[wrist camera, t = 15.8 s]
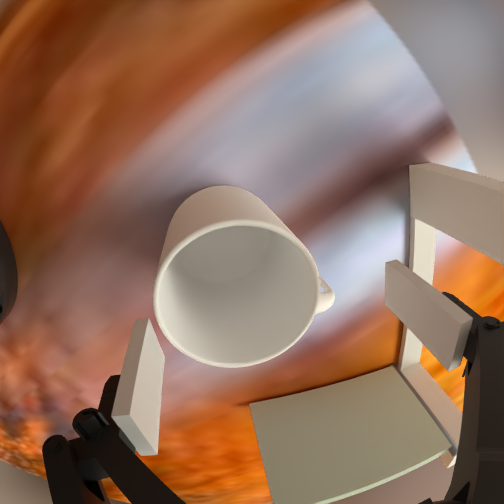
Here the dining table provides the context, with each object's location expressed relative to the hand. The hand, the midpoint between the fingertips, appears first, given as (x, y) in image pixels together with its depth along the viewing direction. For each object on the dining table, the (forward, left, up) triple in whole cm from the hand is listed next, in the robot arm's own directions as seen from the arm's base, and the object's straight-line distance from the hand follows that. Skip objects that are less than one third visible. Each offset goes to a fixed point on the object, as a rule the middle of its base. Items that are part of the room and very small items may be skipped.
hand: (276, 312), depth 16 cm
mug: (0, 0, -11) cm, 11 cm away
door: (+20, +6, -11) cm, 24 cm away
